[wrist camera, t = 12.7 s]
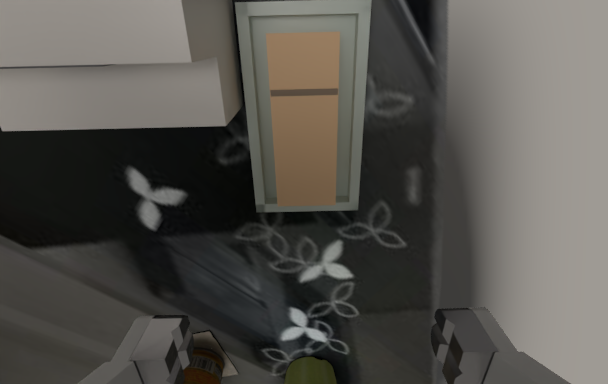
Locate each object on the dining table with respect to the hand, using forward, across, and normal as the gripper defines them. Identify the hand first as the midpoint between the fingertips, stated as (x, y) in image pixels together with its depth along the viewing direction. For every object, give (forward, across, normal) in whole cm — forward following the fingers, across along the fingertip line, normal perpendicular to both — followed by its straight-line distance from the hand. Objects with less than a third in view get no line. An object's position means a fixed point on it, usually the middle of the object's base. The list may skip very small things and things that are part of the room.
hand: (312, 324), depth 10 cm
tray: (+18, 0, +3) cm, 19 cm away
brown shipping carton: (+18, 0, +3) cm, 18 cm away
